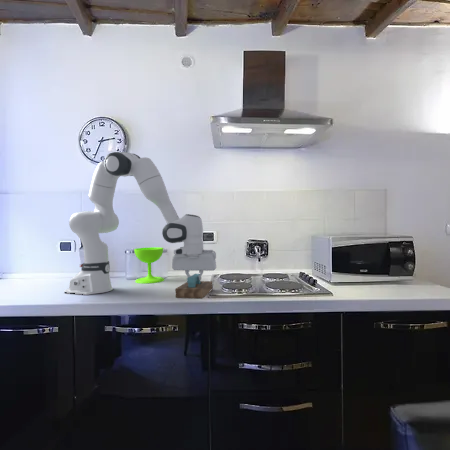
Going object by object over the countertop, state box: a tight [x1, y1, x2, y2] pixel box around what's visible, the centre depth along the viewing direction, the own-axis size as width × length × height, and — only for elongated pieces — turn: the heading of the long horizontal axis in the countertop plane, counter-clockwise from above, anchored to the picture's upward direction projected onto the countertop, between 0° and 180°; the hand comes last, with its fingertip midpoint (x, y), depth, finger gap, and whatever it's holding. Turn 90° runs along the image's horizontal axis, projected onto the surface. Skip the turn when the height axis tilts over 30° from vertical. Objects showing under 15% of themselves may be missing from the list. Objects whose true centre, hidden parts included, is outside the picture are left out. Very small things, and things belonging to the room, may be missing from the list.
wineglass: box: [133, 246, 165, 285], centre depth 198 cm, size 16×16×18 cm
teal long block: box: [186, 273, 202, 288], centre depth 162 cm, size 3×12×7 cm, turn 168°
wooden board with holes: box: [174, 280, 213, 299], centre depth 162 cm, size 12×18×4 cm, turn 168°
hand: (194, 280), depth 162 cm, fingers closed on teal long block, 3 cm apart
